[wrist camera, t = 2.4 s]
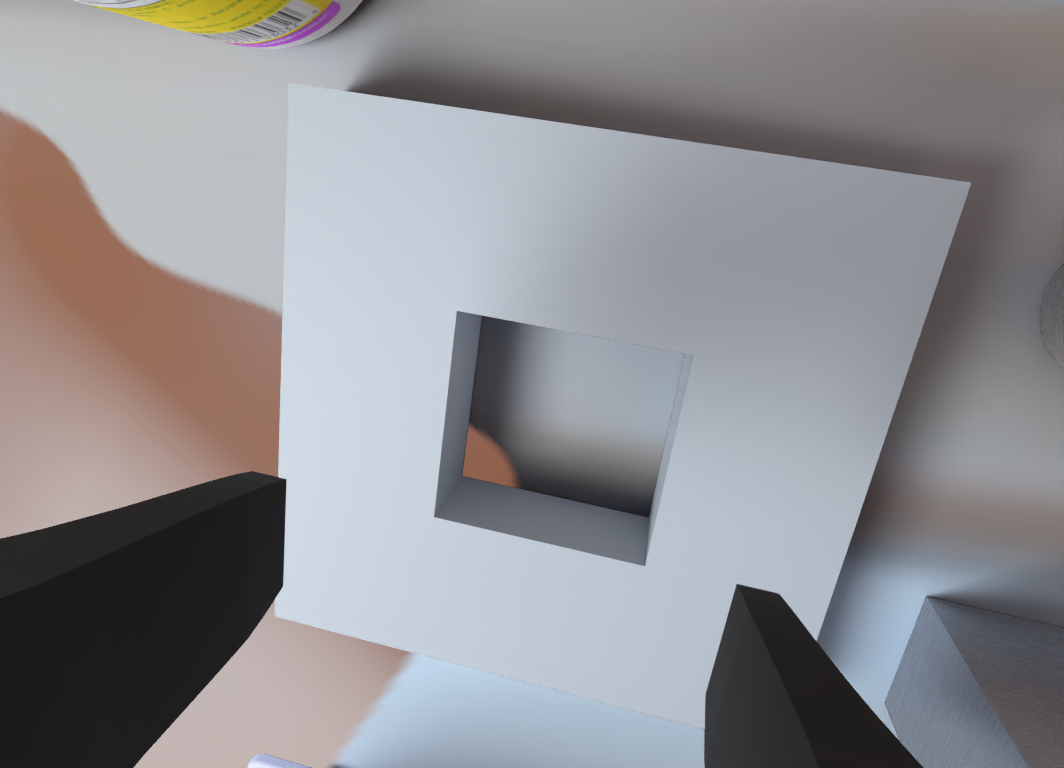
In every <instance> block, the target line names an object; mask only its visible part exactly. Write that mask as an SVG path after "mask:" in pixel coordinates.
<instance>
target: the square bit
mask: <svg viewBox="0 0 1064 768" xmlns="http://www.w3.org/2000/svg"><path fill="white" fill-rule="evenodd" d="M885 705H886V708H887V710H888V713H889V715H890V718H891V721H892V723H893V726H894V728H895V731H896V733H897V736H898V738H899V741H900V742H901V743H902V744H903V746H904V747H905V748H906V749H907V750H908V751H909V752H910V753H911V754H912V756H913V757H914V758H915V759H916V760H917V761H918V762H919V763H920V764H921V765H922V766H923V767H924V768H1064V627H1060V626H1056V625H1051V624H1047V623H1042V622H1038V621H1033V620H1029V619H1025V618H1020V617H1016V616H1011V615H1007V614H1003V613H998V612H994V611H989V610H985V609H980V608H976V607H972V606H967V605H963V604H958V603H954V602H949V601H945V600H941V599H936V598H932V597H927V596H926V598H925V601H924V604H923V606H922V609H921V611H920V614H919V616H918V619H917V621H916V624H915V627H914V629H913V632H912V634H911V637H910V639H909V642H908V644H907V647H906V650H905V652H904V655H903V657H902V660H901V662H900V665H899V668H898V670H897V673H896V675H895V678H894V680H893V683H892V685H891V688H890V691H889V693H888V696H887V698H886V701H885Z"/></svg>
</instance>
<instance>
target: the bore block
mask: <svg viewBox="0 0 1064 768" xmlns="http://www.w3.org/2000/svg"><path fill="white" fill-rule="evenodd" d="M970 186H971V182H964V181H958V180H951V179H944V178H937V177H930V176H923V175H916V174H910V173H903V172H896V171H889V170H882V169H875V168H869V167H862V166H855V165H848V164H841V163H834V162H827V161H821V160H814V159H807V158H800V157H793V156H786V155H780V154H773V153H766V152H759V151H752V150H745V149H738V148H732V147H725V146H718V145H711V144H704V143H697V142H691V141H684V140H677V139H670V138H663V137H656V136H649V135H643V134H636V133H629V132H622V131H615V130H608V129H601V128H595V127H588V126H581V125H574V124H567V123H560V122H554V121H547V120H540V119H533V118H526V117H519V116H512V115H506V114H499V113H492V112H485V111H478V110H471V109H465V108H458V107H451V106H444V105H437V104H430V103H423V102H417V101H410V100H403V99H396V98H389V97H382V96H376V95H369V94H362V93H355V92H348V91H341V90H334V89H328V88H321V87H314V86H307V85H300V84H293V83H289V94H288V131H287V169H286V206H285V243H284V281H283V318H282V356H281V357H282V358H281V393H280V430H279V432H280V433H279V468H278V477H279V478H283V479H287V481H286V513H285V546H284V578H283V587H282V589H281V590H280V592H279V593H278V595H277V597H276V598H275V616H276V617H279V618H283V619H287V620H291V621H295V622H298V623H302V624H306V625H310V626H313V627H317V628H321V629H325V630H329V631H333V632H336V633H340V634H344V635H348V636H352V637H355V638H359V639H363V640H367V641H370V642H374V643H378V644H382V645H386V646H390V647H394V648H397V649H401V650H405V651H408V652H412V653H416V654H420V655H424V656H427V657H431V658H435V659H439V660H443V661H446V662H450V663H454V664H458V665H462V666H465V667H469V668H473V669H477V670H481V671H484V672H488V673H492V674H496V675H500V676H503V677H507V678H511V679H515V680H519V681H523V682H526V683H530V684H534V685H538V686H542V687H545V688H549V689H553V690H557V691H561V692H564V693H568V694H572V695H576V696H580V697H583V698H587V699H591V700H595V701H599V702H602V703H606V704H610V705H614V706H618V707H621V708H625V709H629V710H633V711H637V712H640V713H644V714H648V715H652V716H656V717H659V718H663V719H667V720H671V721H675V722H678V723H682V724H686V725H690V726H694V727H697V728H701V729H705V695H706V691H707V687H708V684H709V680H710V677H711V673H712V669H713V666H714V662H715V659H716V655H717V652H718V648H719V645H720V641H721V638H722V634H723V631H724V627H725V623H726V620H727V616H728V613H729V609H730V606H731V602H732V599H733V595H734V592H735V588H736V584H740V585H744V586H748V587H753V588H757V589H761V590H766V591H770V592H774V593H779V594H780V595H781V597H782V598H783V599H784V600H785V601H786V603H787V604H788V605H789V606H790V608H791V609H792V610H793V612H794V613H795V614H796V615H797V617H798V618H799V619H800V621H801V622H802V623H803V625H804V626H805V627H806V629H807V630H808V631H809V632H810V634H811V635H812V636H813V638H814V639H815V640H816V642H817V639H818V636H819V633H820V630H821V627H822V624H823V621H824V618H825V615H826V612H827V609H828V606H829V603H830V600H831V597H832V594H833V591H834V588H835V585H836V582H837V579H838V576H839V573H840V571H841V568H842V565H843V562H844V559H845V556H846V553H847V550H848V547H849V544H850V541H851V538H852V535H853V532H854V529H855V526H856V523H857V520H858V517H859V514H860V511H861V508H862V505H863V502H864V500H865V497H866V494H867V491H868V488H869V485H870V482H871V479H872V476H873V473H874V470H875V467H876V464H877V461H878V458H879V455H880V452H881V449H882V446H883V443H884V440H885V437H886V434H887V431H888V429H889V426H890V423H891V420H892V417H893V414H894V411H895V408H896V405H897V402H898V399H899V396H900V393H901V390H902V387H903V384H904V381H905V378H906V375H907V372H908V369H909V366H910V363H911V360H912V358H913V355H914V352H915V349H916V346H917V343H918V340H919V337H920V334H921V331H922V328H923V325H924V322H925V319H926V316H927V313H928V310H929V307H930V304H931V301H932V298H933V295H934V292H935V289H936V287H937V284H938V281H939V278H940V275H941V272H942V269H943V266H944V263H945V260H946V257H947V254H948V251H949V248H950V245H951V242H952V239H953V236H954V233H955V230H956V227H957V224H958V221H959V218H960V216H961V213H962V210H963V207H964V204H965V201H966V198H967V195H968V192H969V189H970ZM482 316H487V317H493V318H498V319H503V320H509V321H514V322H519V323H525V324H530V325H535V326H540V327H546V328H551V329H556V330H562V331H567V332H572V333H577V334H583V335H588V336H593V337H599V338H604V339H609V340H615V341H620V342H625V343H630V344H636V345H641V346H646V347H652V348H657V349H662V350H668V351H673V352H678V353H683V354H685V359H684V363H683V367H682V372H681V376H680V381H679V385H678V390H677V394H676V398H675V403H674V407H673V412H672V416H671V421H670V425H669V429H668V434H667V438H666V443H665V447H664V452H663V456H662V460H661V465H660V469H659V474H658V478H657V483H656V487H655V491H654V496H653V500H652V505H651V509H650V514H649V518H648V517H644V516H639V515H635V514H630V513H626V512H621V511H617V510H612V509H608V508H603V507H599V506H594V505H590V504H586V503H581V502H577V501H572V500H568V499H563V498H559V497H554V496H550V495H545V494H541V493H536V492H532V491H527V490H523V489H518V488H514V487H509V486H505V485H500V484H496V483H491V482H487V481H482V480H478V479H474V478H469V477H464V476H462V473H463V464H464V457H465V448H466V441H467V433H468V425H469V417H470V409H471V400H472V392H473V384H474V376H475V368H476V360H477V352H478V344H479V335H480V327H481V319H482Z"/></svg>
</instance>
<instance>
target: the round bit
mask: <svg viewBox="0 0 1064 768" xmlns="http://www.w3.org/2000/svg"><path fill="white" fill-rule="evenodd" d="M1040 328H1041V334H1042V338H1043V341H1044V344H1045V346H1046V348H1047V350H1048V351H1049V353H1050V354H1051V356H1052V357H1053V358H1054V360H1055V361H1056V362H1057V363H1058V364H1059V365H1060V366H1061V367H1063V368H1064V264H1063V265H1062V267H1061V268H1060V269H1059V270H1058V272H1057V273H1056V274H1055V276H1054V277H1053V279H1052V281H1051V282H1050V284H1049V286H1048V288H1047V290H1046V292H1045V295H1044V298H1043V301H1042V305H1041V311H1040Z"/></svg>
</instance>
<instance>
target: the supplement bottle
mask: <svg viewBox="0 0 1064 768" xmlns="http://www.w3.org/2000/svg"><path fill="white" fill-rule="evenodd" d="M72 1H76V2H80V3H84V4H87V5H90V6H94V7H97V8H101V9H105V10H108V11H112V12H115V13H119V14H123V15H127V16H131V17H134V18H138V19H141V20H145V21H148V22H151V23H155V24H159V25H163V26H167V27H170V28H174V29H178V30H181V31H185V32H188V33H192V34H195V35H199V36H203V37H206V38H210V39H214V40H218V41H221V42H225V43H230V44H235V45H239V46H245V47H251V48H258V49H283V48H290V47H295V46H298V45H302V44H305V43H308V42H311V41H313V40H315V39H317V38H320V37H322V36H323V35H325V34H327V33H328V32H330V31H332V30H333V29H334V28H336V27H337V26H338V25H339V24H341V23H342V22H343V21H344V20H345V19H346V18H347V17H348V16H349V15H350V14H351V13H353V11H354V10H355V9H356V8H357V7H358V5H359V4H360V3H361V2H362V1H363V0H72Z"/></svg>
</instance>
